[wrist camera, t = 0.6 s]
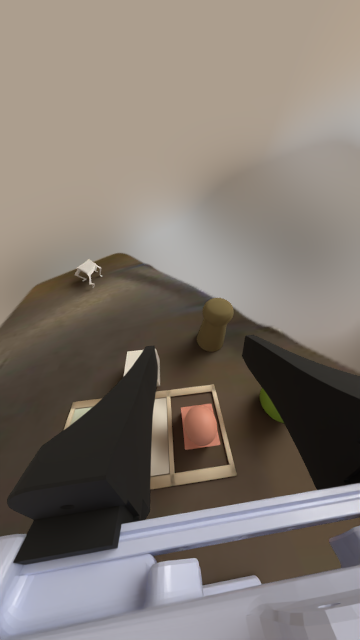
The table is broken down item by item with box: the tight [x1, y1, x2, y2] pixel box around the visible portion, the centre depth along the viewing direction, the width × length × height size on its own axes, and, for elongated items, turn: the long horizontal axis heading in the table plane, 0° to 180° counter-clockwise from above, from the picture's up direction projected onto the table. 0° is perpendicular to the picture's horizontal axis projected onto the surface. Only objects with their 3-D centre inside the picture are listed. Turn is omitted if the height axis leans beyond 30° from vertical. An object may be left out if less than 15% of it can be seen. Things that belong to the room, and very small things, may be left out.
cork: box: [197, 298, 234, 352], centre depth 27 cm, size 6×6×11 cm
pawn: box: [181, 404, 220, 450], centre depth 17 cm, size 4×4×9 cm
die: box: [124, 349, 160, 386], centre depth 24 cm, size 5×5×5 cm
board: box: [64, 385, 237, 489], centre depth 20 cm, size 11×25×1 cm, turn 96°
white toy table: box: [75, 259, 102, 288], centre depth 45 cm, size 12×8×5 cm
